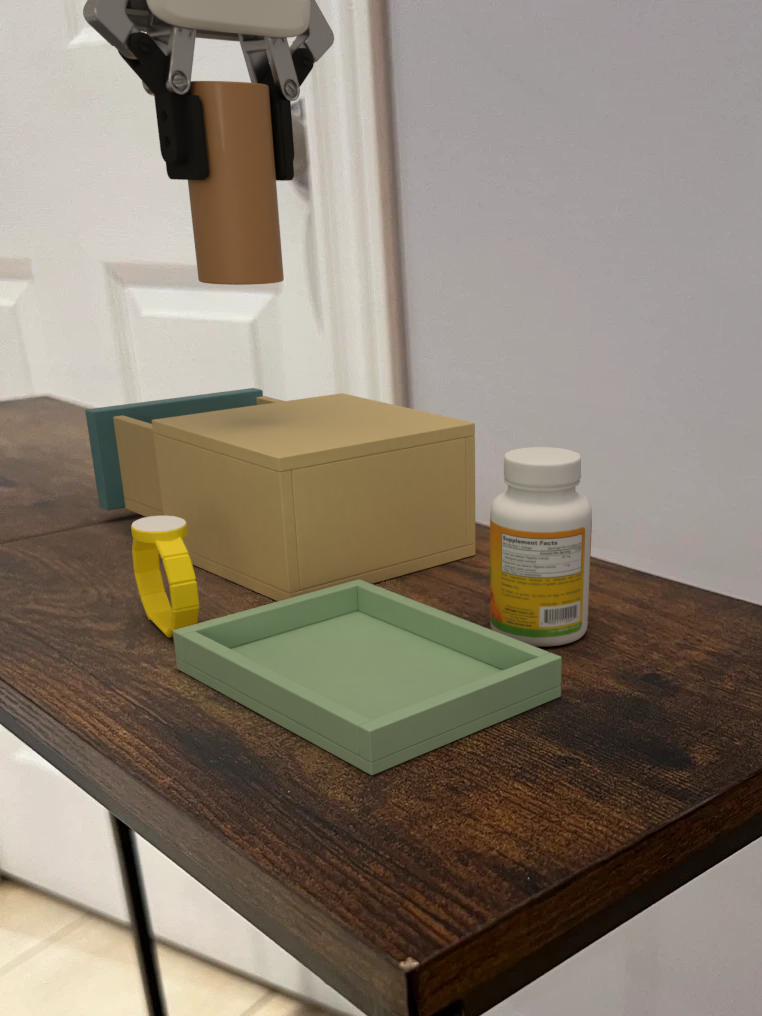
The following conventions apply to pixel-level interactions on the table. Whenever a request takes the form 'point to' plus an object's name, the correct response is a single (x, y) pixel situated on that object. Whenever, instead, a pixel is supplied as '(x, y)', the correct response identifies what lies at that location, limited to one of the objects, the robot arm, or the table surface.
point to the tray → (368, 671)
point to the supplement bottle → (540, 549)
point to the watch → (166, 541)
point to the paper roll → (236, 188)
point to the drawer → (145, 445)
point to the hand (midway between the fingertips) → (231, 175)
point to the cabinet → (318, 491)
